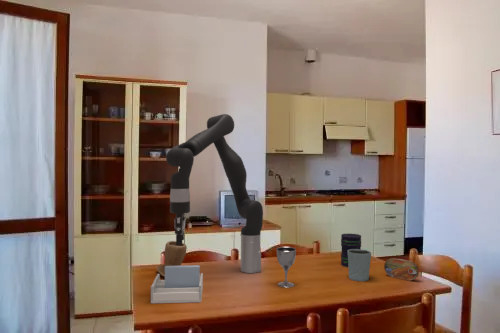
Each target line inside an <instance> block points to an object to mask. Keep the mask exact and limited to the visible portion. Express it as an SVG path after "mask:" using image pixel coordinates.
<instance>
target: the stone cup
mask: <svg viewBox="0 0 500 333" xmlns="http://www.w3.org/2000/svg"><path fill="white" fill-rule="evenodd" d="M186 254H187V245H186V244H185V243H184V242H182V245H176V240H170V241H167V242H166V243H165V247H164V261H165V262H164V263H161V264H159V265H156V268H155V269H156V271H157V272H158V274H160V276H163V277H164V278H165V266H182V265H183V261H184V259H185V256H186Z"/></svg>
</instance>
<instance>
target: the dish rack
mask: <svg viewBox="0 0 500 333" xmlns="http://www.w3.org/2000/svg"><path fill="white" fill-rule="evenodd" d="M160 276H161V274H160V273H157V274H156V276H155V278H154V280H153V282H152V285H150V304H174V303H175V304H177V303H178V304H181V303H182V304H183V303H185V304H186V303H188V304H189V303H202V297H203V287H204V285H203V284H204V280H203V279H204V273H203V272H200V282H199V287H195V288H165V279H161V278H160Z"/></svg>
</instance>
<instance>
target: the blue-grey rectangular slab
mask: <svg viewBox="0 0 500 333" xmlns="http://www.w3.org/2000/svg"><path fill="white" fill-rule="evenodd" d="M200 268H201V266H200V265H197V264H196V265H195V264H194V265H181V266H165V277H164V280H165V288H195V287H199V282H200V275H201V272H200V271H201V269H200Z"/></svg>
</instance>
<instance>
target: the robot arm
mask: <svg viewBox="0 0 500 333" xmlns="http://www.w3.org/2000/svg"><path fill="white" fill-rule="evenodd" d="M206 128H207V129H204V130H202V131H200V132H198V133H196V134H194V135H193V136H191V137H190V138H189V139H187V140H186V141H185V142H182V143H180V144H177V145H175V146H173V147H172V148H170V150H168V152H167V153H166V156H165V160H166V163H167V165H169V166H171V167H175V168H177V167H179V168H178V171H177V172H173V173H172V174H171V176H170V194H169V204H170V205H169V212H170V214H174V215H176V217H174V219H173V221H174V230H175V231H174V234H175V241H176V245H182V243H183V241H184V240H185V229H186V220H187V218H186V214H189V213H190V212H191V192H190V176H191V172H192V168H193V166H194V162H195V161H194V160H195V159H194V158H195V157H197V156H198V155H200V154H201V153H202V152H203V151H204V150H206V149H207V148H208V147H209V146H210V145H212V144H214V147H215V149H216V151H217V154H218V156H219V159H220V161H221V163H222V166H223V169H224V173H225V176H226V178H227V180H228V183H229V186H230V189H231V191H232V194H233V198H234V201H235V205H236V211H237V213H238V214H239V216H240V217H241V218H242V219H244V220H245V219H246V220H245V226H243V227H241V228H240V271H241V273H242V272H243V273H245V274H255V273H261V272H262V250H261V231H262V229H263V219H264V218H263V217H264V207H263V205H262V203H261V202H260V201H258V200H253V199H251V197H250V196H249V193H248V191H247V170H246V168H245V167H246V166H245V165H244V161H243V159H242V157H240V155H239V154H238V153H237V152H236V151H235V150H234V149H233V148H232V147H231V146H230V145H229V144H228V142H227V140H226V139H225V136H228V135H229V134H231V133H233V131H234V129H235V120H234V119H233V117H232V116H231V115H229V114H228V113H223V114H219V115H216V116H215V115H214V116H211V117H209V118H208V119H207V121H206Z"/></svg>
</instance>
